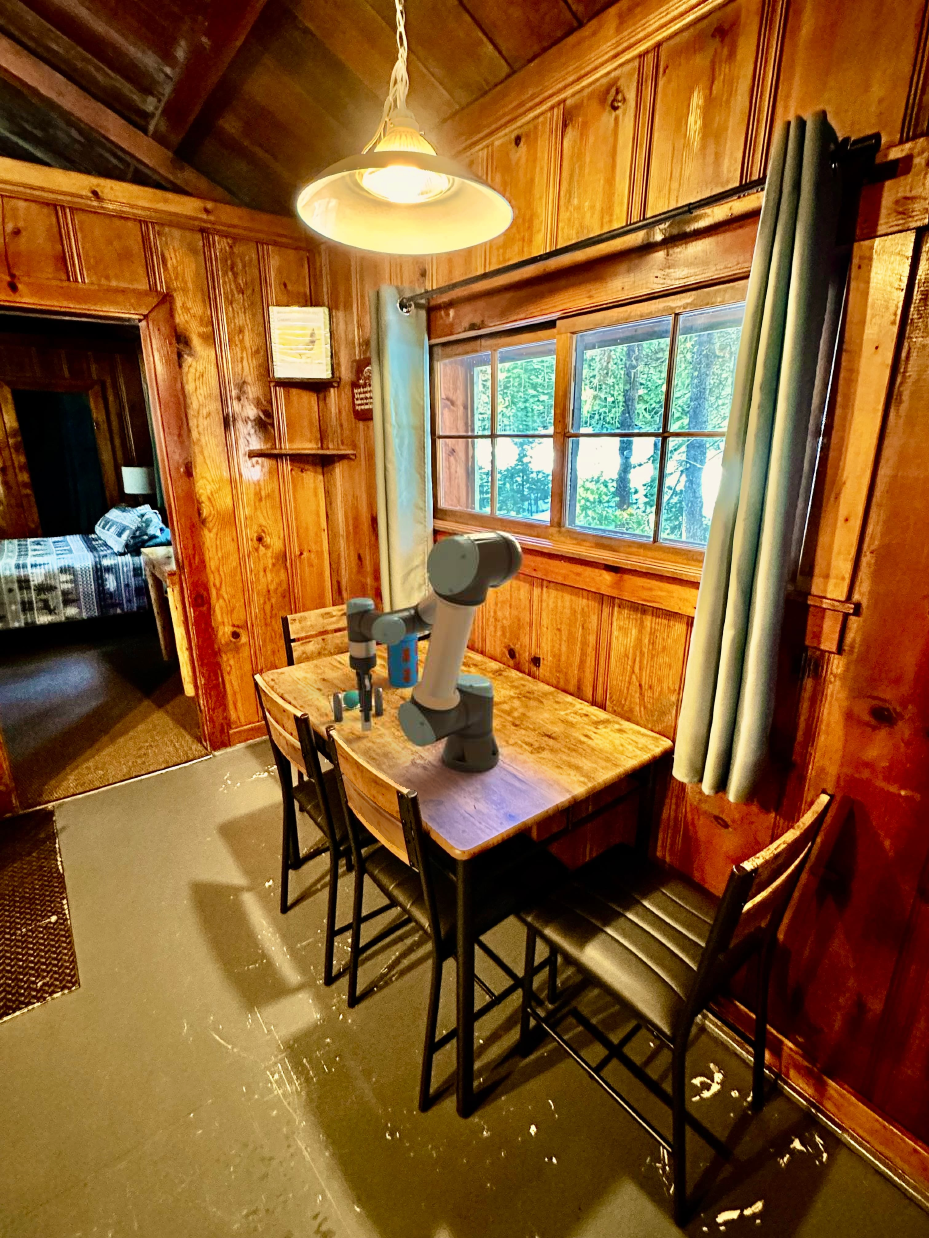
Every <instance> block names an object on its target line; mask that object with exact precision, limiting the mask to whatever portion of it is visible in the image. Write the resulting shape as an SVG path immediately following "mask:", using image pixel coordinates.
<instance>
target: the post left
mask: <svg viewBox="0 0 929 1238" xmlns="http://www.w3.org/2000/svg"><path fill="white" fill-rule="evenodd" d="M341 693H342V692H341V691H334V692H333V693H331V694H332V695H333V709H334V712H333V722H334V721H335V723H336V722H339V723H342V722H344V716H343V710H342V698H341ZM333 709H332V710H333ZM341 721H342V722H341Z"/></svg>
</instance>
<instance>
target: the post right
mask: <svg viewBox="0 0 929 1238" xmlns="http://www.w3.org/2000/svg"><path fill="white" fill-rule="evenodd" d="M373 698H374V705H375V706H374V715H375V717H383V715H384V700H383V699H384V698H383V687H382V686H373Z"/></svg>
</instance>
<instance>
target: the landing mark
mask: <svg viewBox="0 0 929 1238" xmlns="http://www.w3.org/2000/svg"><path fill="white" fill-rule="evenodd" d="M355 691H356V692H357V693H358V689H357V690H355ZM346 692H347V691H343V692H341V693H344V694H345V693H346ZM344 694H341V697H342V701H343V696H344ZM329 697H330V696H329ZM329 697H328V698H329ZM372 697H373V698H372V707H374V706H373V705H374V695H372ZM330 701H333V700H329V703H330V707H331V709H332V712H333V713H334V709H333V702H330ZM342 705H345V704H344V703H343V702H342ZM359 705H360V704H358V706H356V707H355V708H356V709H361V708H360V706H359ZM353 708H354V707H353ZM345 709H349V710H353V709H352V708H349V707H347V706H344V707H343V706H342V711H346V710H345Z"/></svg>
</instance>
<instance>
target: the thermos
mask: <svg viewBox="0 0 929 1238" xmlns="http://www.w3.org/2000/svg"><path fill="white" fill-rule="evenodd" d="M418 634H419V633H416V634H412V635H409V636H405V637H404V638H403V639H402V640H401V641H400V642H399V643H398V644H396V645H387V644H386V654H387V655H386V656H387V658H386V659H387V677H388V684H390V685H389V686H390V687H392V686H393V687H392V688H395V687H397V688H396V689H408V688H412V687H414V685H415V684H416V683H417V682H419V644H418V643H419V641H418V640H419V637H418V636H419V635H418Z"/></svg>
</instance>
